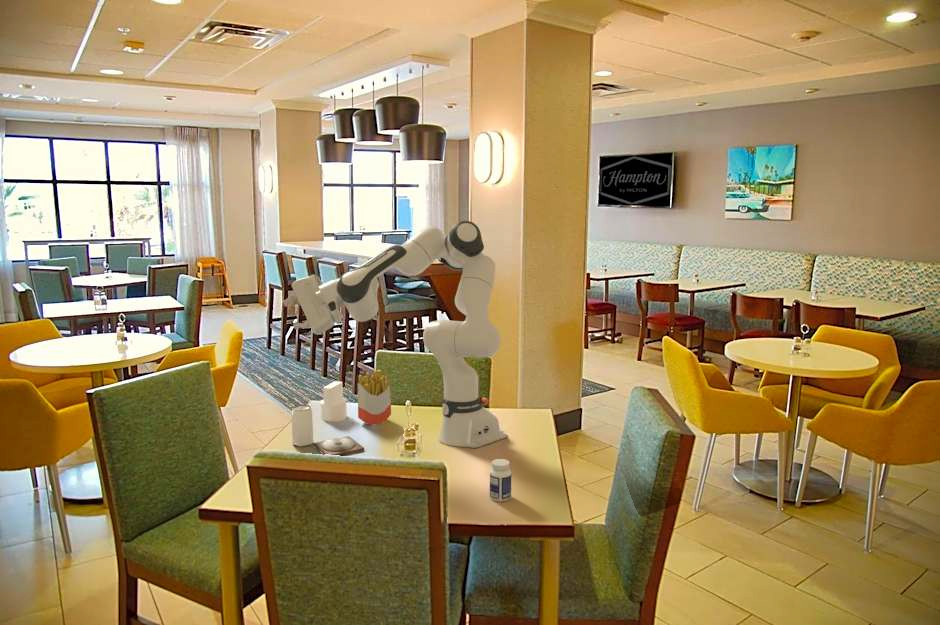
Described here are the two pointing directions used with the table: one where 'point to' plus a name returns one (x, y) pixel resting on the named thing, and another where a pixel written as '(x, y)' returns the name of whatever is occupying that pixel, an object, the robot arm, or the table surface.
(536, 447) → the table surface
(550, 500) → the table surface
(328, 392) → the base with upright slab
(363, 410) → the french fries container
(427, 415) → the table surface
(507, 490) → the pill bottle
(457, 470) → the table surface
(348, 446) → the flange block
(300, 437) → the can
